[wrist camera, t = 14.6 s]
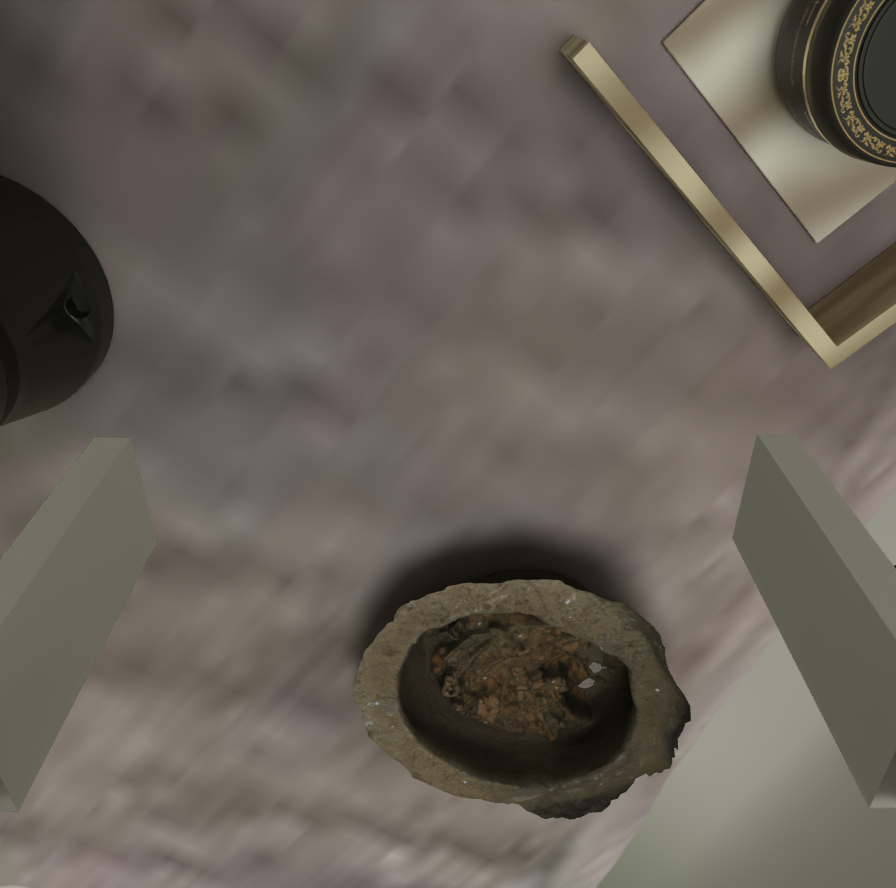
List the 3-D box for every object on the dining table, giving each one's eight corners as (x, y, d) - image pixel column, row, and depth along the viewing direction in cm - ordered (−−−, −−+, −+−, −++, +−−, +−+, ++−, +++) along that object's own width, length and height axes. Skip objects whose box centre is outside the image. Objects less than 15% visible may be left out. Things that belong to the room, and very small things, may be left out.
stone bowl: (714, 678, 65) (742, 779, 57) (458, 753, 73) (453, 850, 66) (592, 470, 54) (607, 561, 46) (306, 586, 62) (278, 681, 54)
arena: (559, 50, 40) (572, 59, 36) (900, -310, 33) (967, -352, 29) (797, 334, 49) (830, 369, 44) (1110, 97, 42) (1186, 111, 37)
